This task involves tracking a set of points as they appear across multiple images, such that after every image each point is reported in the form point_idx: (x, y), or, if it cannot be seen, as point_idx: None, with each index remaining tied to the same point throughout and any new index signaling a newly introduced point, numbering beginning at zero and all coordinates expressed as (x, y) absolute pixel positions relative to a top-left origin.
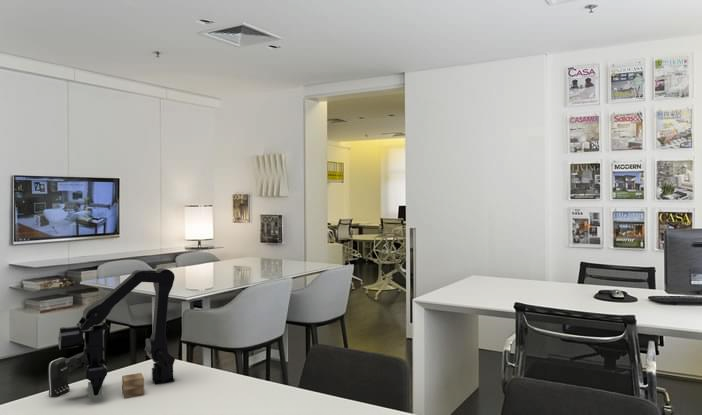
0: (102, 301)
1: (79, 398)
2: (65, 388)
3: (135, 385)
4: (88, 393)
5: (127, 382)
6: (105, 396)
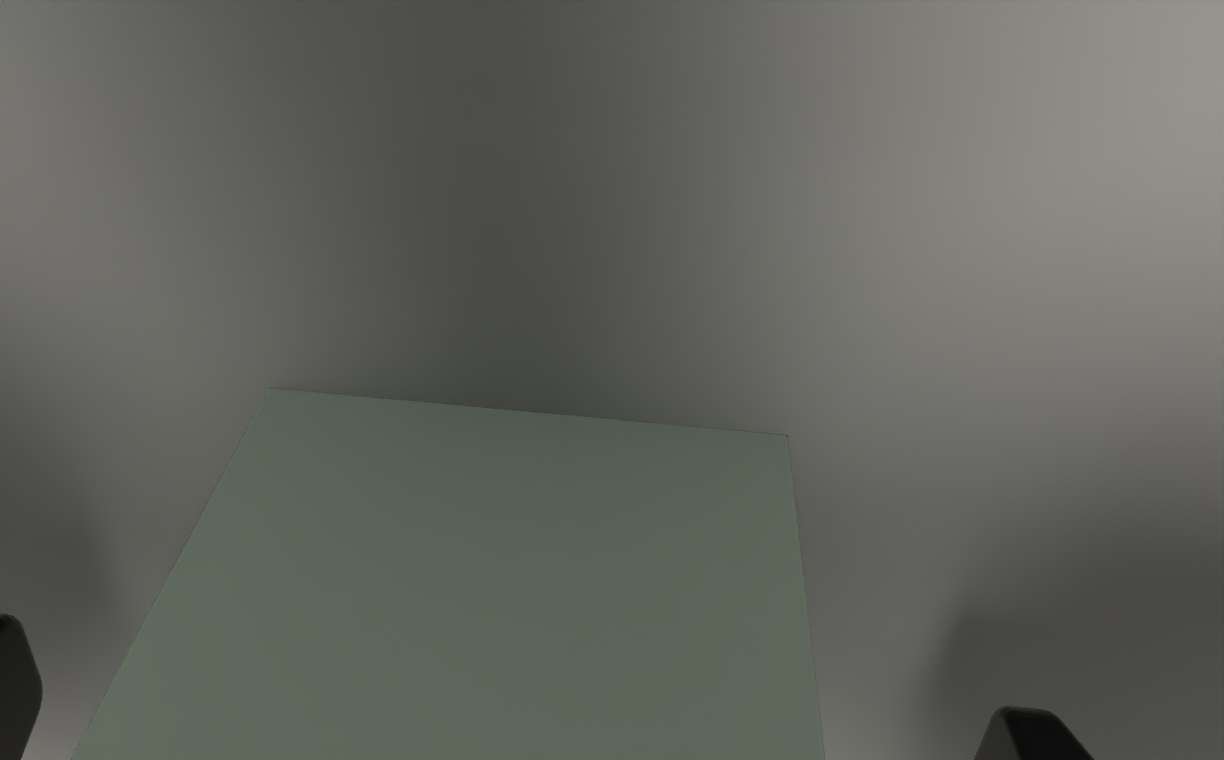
0: None
1: (348, 52)
2: None
3: None
4: (556, 471)
5: None
6: None
